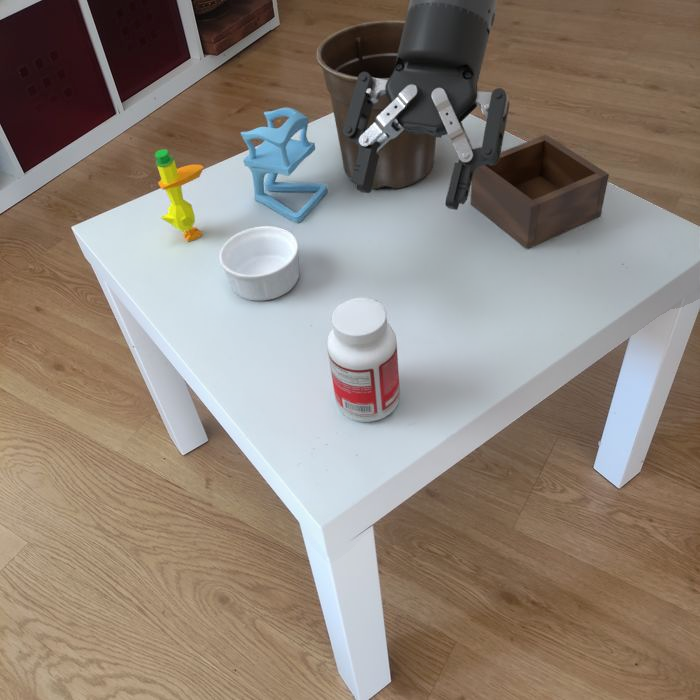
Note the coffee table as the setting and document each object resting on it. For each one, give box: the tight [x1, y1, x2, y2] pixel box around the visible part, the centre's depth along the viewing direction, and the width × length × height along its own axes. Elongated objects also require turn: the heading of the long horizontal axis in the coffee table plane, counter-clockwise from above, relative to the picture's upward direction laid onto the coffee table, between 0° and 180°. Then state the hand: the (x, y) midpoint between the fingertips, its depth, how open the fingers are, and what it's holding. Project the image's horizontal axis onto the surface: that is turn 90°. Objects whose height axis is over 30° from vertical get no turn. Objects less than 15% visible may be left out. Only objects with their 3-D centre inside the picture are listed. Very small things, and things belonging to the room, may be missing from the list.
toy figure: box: [154, 148, 204, 243], centre depth 86 cm, size 7×4×12 cm, turn 125°
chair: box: [240, 107, 329, 223], centre depth 89 cm, size 8×8×12 cm
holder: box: [470, 134, 610, 250], centre depth 86 cm, size 11×11×6 cm
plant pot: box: [316, 20, 437, 190], centre depth 91 cm, size 16×16×16 cm
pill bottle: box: [326, 297, 401, 423], centre depth 65 cm, size 6×6×11 cm
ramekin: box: [218, 225, 300, 302], centre depth 81 cm, size 9×9×4 cm
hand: (406, 199), depth 65 cm, fingers open, 8 cm apart
